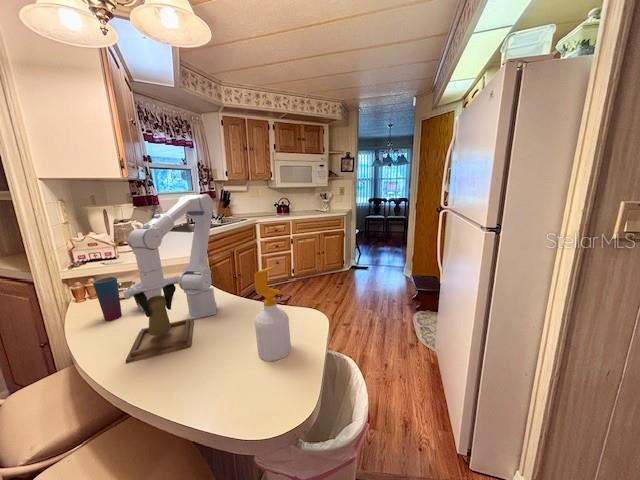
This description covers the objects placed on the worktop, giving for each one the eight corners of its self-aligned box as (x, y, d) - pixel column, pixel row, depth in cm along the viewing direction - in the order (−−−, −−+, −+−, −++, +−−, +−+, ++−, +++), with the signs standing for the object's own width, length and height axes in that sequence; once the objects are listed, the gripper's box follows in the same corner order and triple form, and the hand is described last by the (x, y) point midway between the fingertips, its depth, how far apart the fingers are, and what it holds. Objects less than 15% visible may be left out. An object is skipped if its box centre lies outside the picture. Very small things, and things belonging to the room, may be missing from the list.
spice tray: (193, 322, 92) (192, 316, 92) (190, 347, 78) (189, 340, 77) (140, 333, 86) (138, 328, 86) (126, 363, 72) (124, 356, 71)
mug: (129, 310, 104) (124, 286, 102) (166, 295, 116) (162, 274, 114) (144, 315, 99) (139, 290, 97) (181, 299, 111) (177, 277, 109)
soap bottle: (276, 365, 68) (267, 275, 63) (251, 355, 73) (241, 270, 67) (297, 347, 75) (291, 264, 70) (273, 338, 80) (265, 260, 75)
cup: (112, 323, 94) (103, 283, 91) (97, 321, 96) (87, 282, 93) (129, 313, 101) (121, 276, 98) (114, 312, 102) (106, 276, 99)
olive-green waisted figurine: (174, 324, 85) (171, 293, 82) (165, 335, 79) (161, 302, 76) (155, 324, 85) (151, 292, 82) (144, 335, 79) (139, 302, 76)
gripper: (172, 261, 85) (179, 300, 88) (117, 273, 75) (126, 317, 78) (180, 264, 80) (187, 306, 83) (122, 278, 70) (132, 325, 73)
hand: (158, 312), depth 80 cm, fingers closed on olive-green waisted figurine, 5 cm apart
